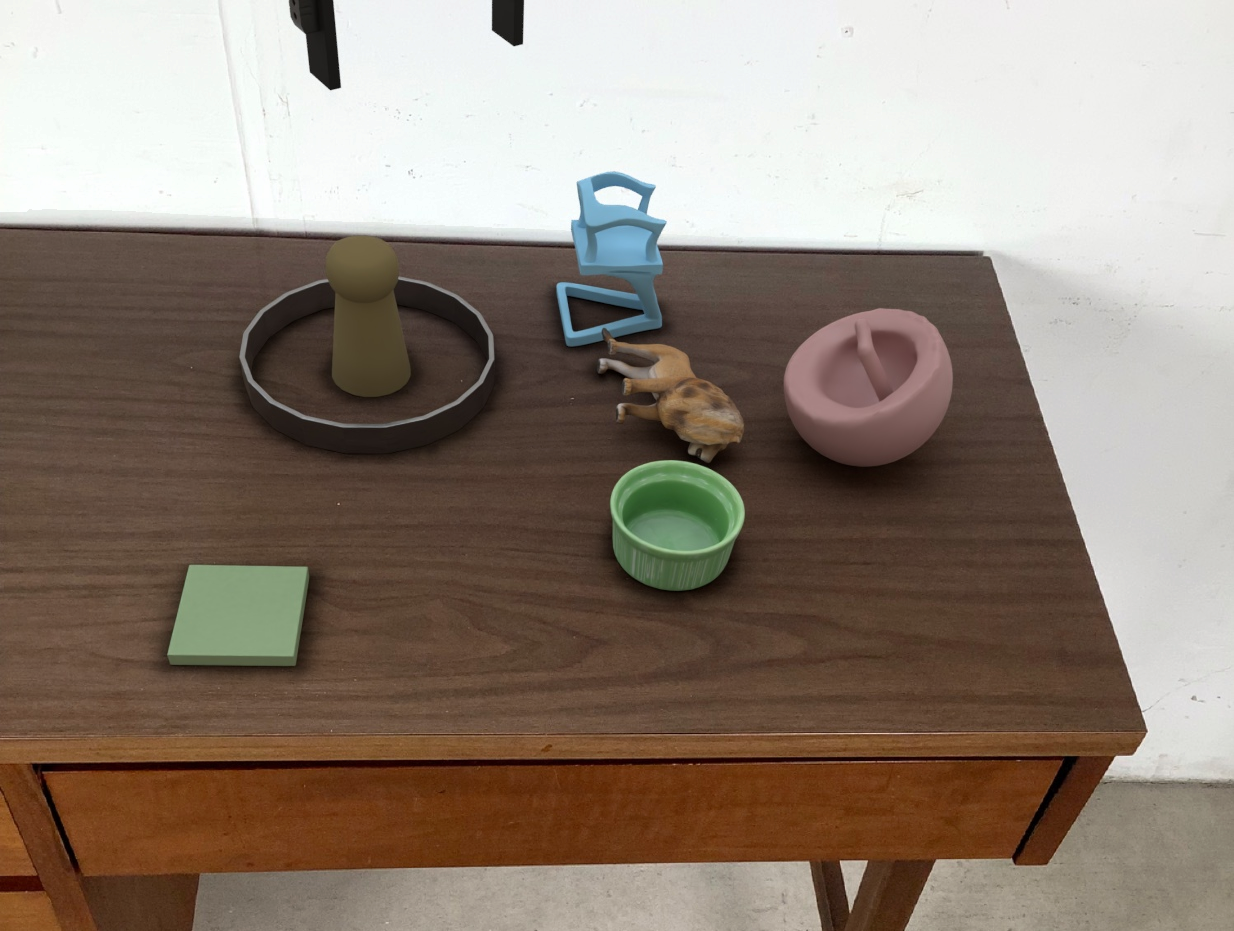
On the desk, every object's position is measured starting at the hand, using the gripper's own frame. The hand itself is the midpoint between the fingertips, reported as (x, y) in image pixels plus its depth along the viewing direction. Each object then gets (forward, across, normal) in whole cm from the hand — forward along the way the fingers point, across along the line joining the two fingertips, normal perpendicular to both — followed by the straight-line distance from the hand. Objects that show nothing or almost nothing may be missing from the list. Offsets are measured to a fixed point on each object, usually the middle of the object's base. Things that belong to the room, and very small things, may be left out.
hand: (419, 58), depth 79 cm
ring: (+23, -6, 0) cm, 24 cm away
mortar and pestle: (+23, +21, -26) cm, 41 cm away
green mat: (+23, -25, -18) cm, 38 cm away
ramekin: (+23, +2, -28) cm, 36 cm away
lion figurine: (+20, +7, -14) cm, 26 cm away
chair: (+23, +15, -4) cm, 28 cm away
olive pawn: (+23, -6, 0) cm, 24 cm away
